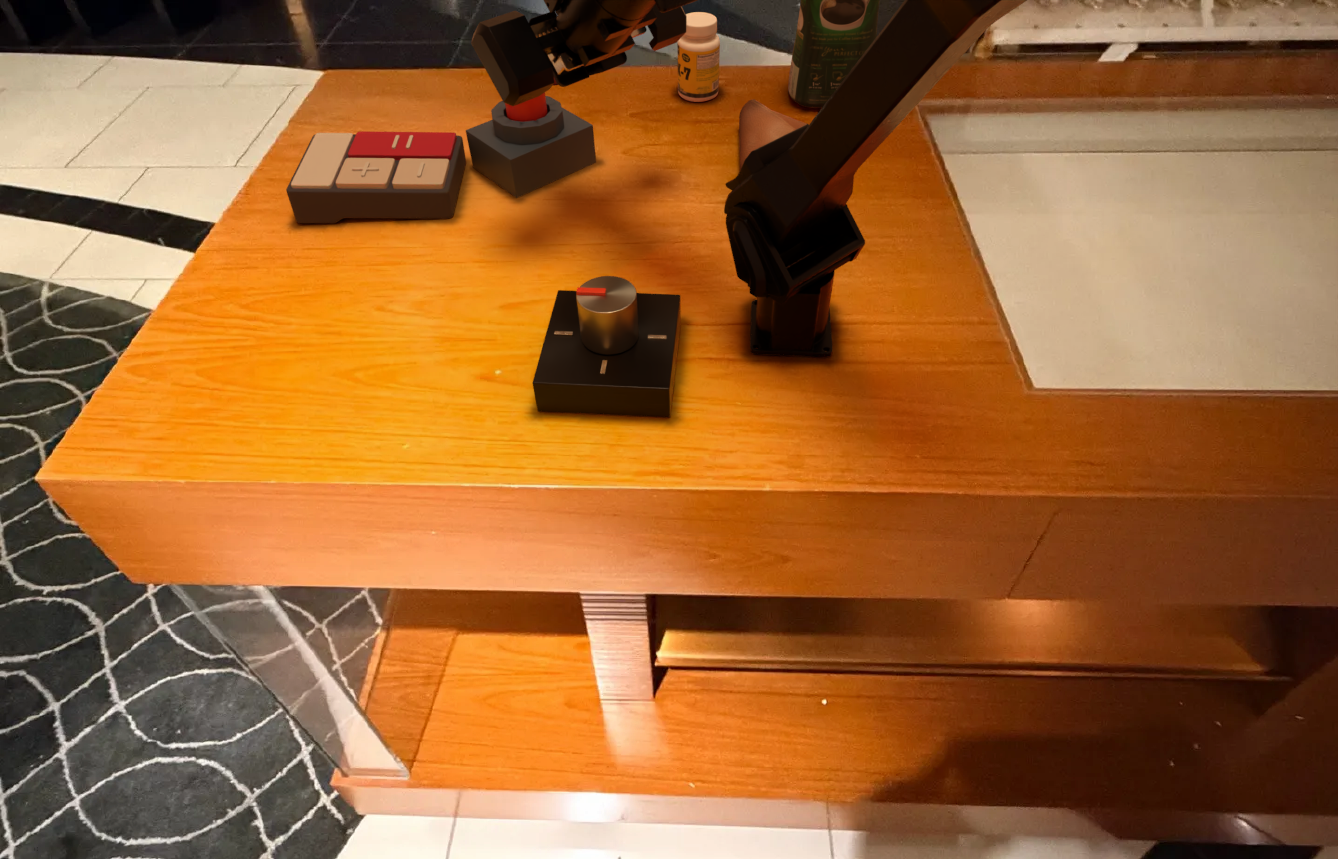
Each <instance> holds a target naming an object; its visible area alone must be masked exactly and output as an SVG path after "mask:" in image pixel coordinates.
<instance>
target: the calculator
mask: <svg viewBox="0 0 1338 859" xmlns="http://www.w3.org/2000/svg"><path fill="white" fill-rule="evenodd" d="M464 146H465V145H464V139H463V136H461V135H458V134H457V133H456V132H449V131H447V132H446V131H444V132H443V131H441V132H439V131H367V130H365V131H364V130H363V131H357V132H355V134H354V133H352V132H316V133H314V134H313V136H312V137H311V139H310V141H309V142H308V145H307V147H306V150H305V151H304V153H303V155H302V157H301V159H300V161H299V163H298V165H297V167H296V168H295V171H294V173H293V175H292V176H291V179H290V181H289V183H288V184H287V187H286V189H285V190H286V195H287V197H288V200H289V203H290V206H291V209H292V213H293V216H294V218H295V221H296V223H297V224H336V223H338V222H340V221H341V220H343V219H420V220H421V219H423V220H424V219H425V220H427V219H430V220H432V219H433V220H435V219H436V220H440V219H443V220H444V219H445V220H446V219H447V220H448V219H452V218H453V217H454V213H455V210H456V206H457V203H458V202H457V201H458V198H459V193H460V189H461V186H462V181H463V177H464V173H465V168H466V164H467V159H466V152H465V147H464Z"/></svg>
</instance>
